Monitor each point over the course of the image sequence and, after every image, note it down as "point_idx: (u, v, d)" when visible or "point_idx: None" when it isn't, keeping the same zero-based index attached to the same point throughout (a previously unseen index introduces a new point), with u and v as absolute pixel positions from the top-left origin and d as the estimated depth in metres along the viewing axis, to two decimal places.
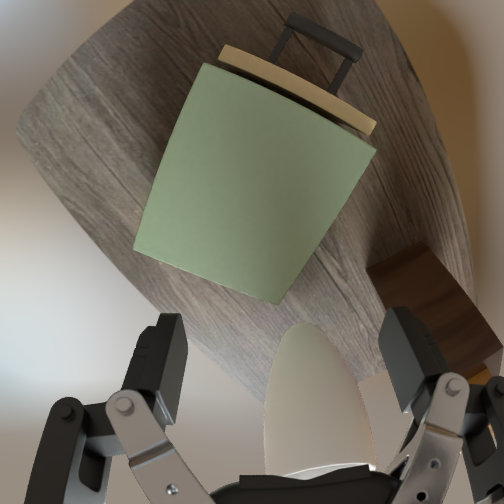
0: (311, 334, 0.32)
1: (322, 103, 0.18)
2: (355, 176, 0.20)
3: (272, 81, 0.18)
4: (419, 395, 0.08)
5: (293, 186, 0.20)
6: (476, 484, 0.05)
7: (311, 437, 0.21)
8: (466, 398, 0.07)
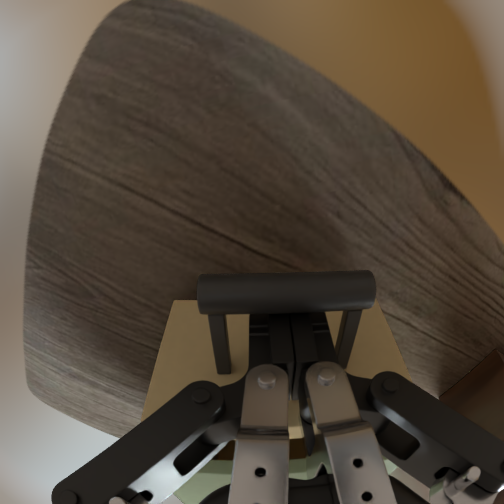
0: None
1: None
2: (388, 471, 0.12)
3: None
4: (300, 382, 0.09)
5: None
6: (416, 473, 0.07)
7: None
8: (339, 390, 0.08)
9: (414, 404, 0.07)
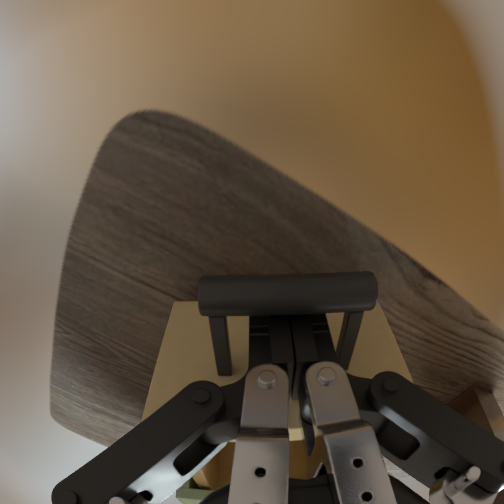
0: None
1: None
2: None
3: None
4: (300, 382, 0.09)
5: None
6: (416, 473, 0.07)
7: None
8: (339, 390, 0.08)
9: (414, 404, 0.07)
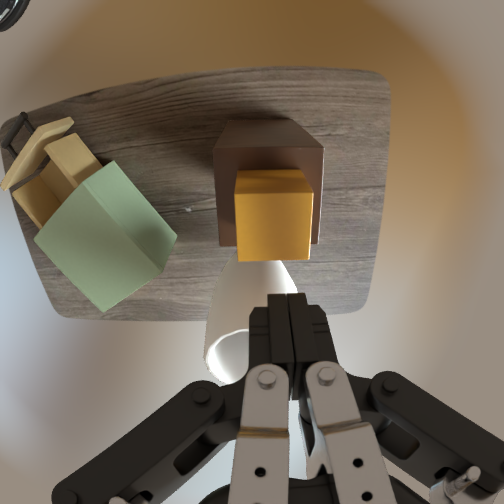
0: None
1: (25, 153, 0.29)
2: (92, 199, 0.32)
3: (14, 173, 0.30)
4: (300, 382, 0.09)
5: (90, 232, 0.34)
6: (416, 472, 0.07)
7: (206, 334, 0.29)
8: (339, 390, 0.08)
9: (414, 404, 0.07)
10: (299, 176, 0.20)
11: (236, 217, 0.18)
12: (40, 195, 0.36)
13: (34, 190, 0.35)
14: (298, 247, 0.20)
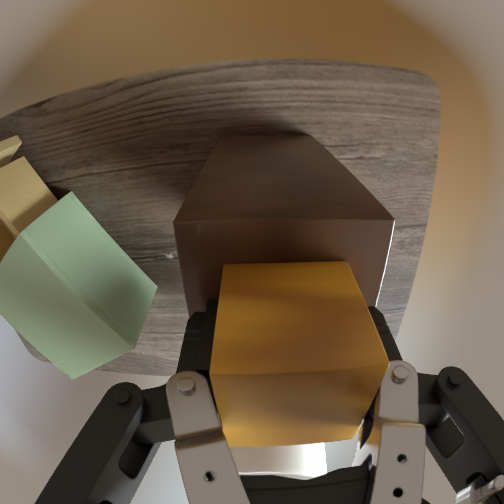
0: None
1: None
2: (35, 256, 0.21)
3: None
4: None
5: (40, 295, 0.23)
6: (451, 474, 0.06)
7: None
8: (413, 387, 0.07)
9: (470, 402, 0.07)
10: (349, 291, 0.10)
11: (218, 405, 0.08)
12: None
13: None
14: (338, 431, 0.09)
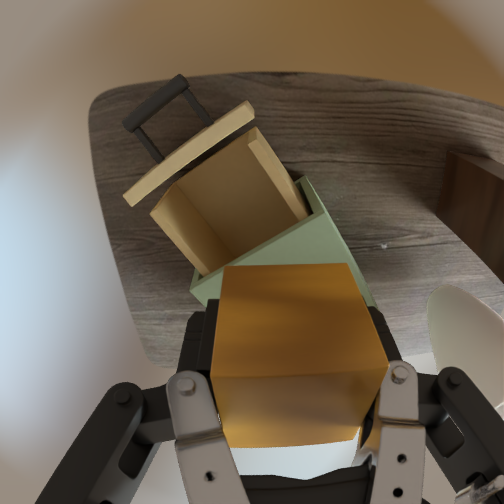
0: (439, 302, 0.31)
1: (203, 147, 0.20)
2: (335, 239, 0.23)
3: (166, 177, 0.22)
4: None
5: None
6: (451, 474, 0.06)
7: None
8: (412, 387, 0.07)
9: (470, 401, 0.07)
10: (349, 292, 0.10)
11: (219, 406, 0.08)
12: (188, 216, 0.28)
13: (179, 208, 0.27)
14: (338, 432, 0.09)
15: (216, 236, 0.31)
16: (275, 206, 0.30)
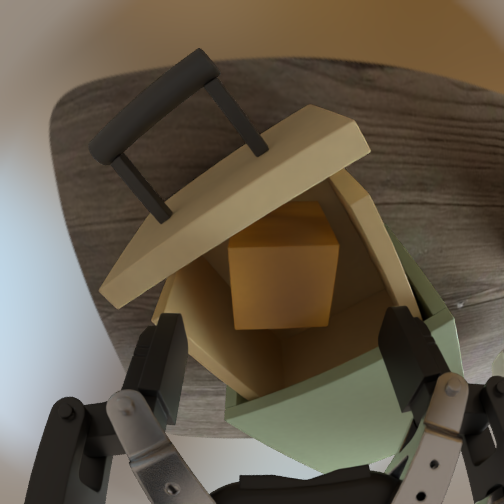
0: None
1: (259, 208, 0.10)
2: (453, 349, 0.12)
3: (180, 266, 0.11)
4: (418, 395, 0.08)
5: None
6: (476, 484, 0.05)
7: None
8: (465, 398, 0.07)
9: None
10: (317, 214, 0.15)
11: (231, 278, 0.13)
12: (215, 301, 0.17)
13: (200, 290, 0.16)
14: (315, 313, 0.14)
15: None
16: (344, 273, 0.19)
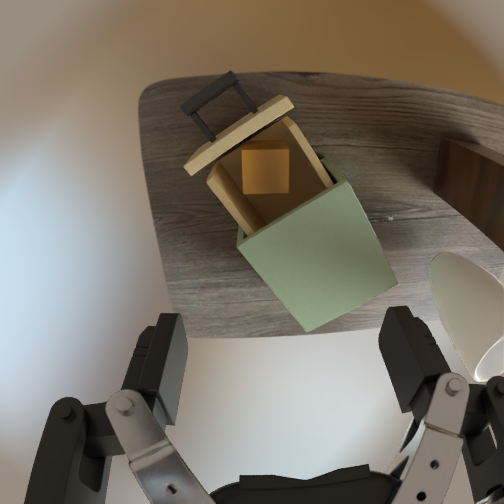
0: (440, 265, 0.37)
1: (254, 128, 0.26)
2: (355, 202, 0.29)
3: (223, 152, 0.27)
4: (419, 395, 0.08)
5: (337, 240, 0.31)
6: (476, 484, 0.05)
7: (472, 338, 0.26)
8: (466, 398, 0.07)
9: None
10: (282, 143, 0.31)
11: (242, 164, 0.29)
12: (232, 188, 0.33)
13: (225, 180, 0.32)
14: (281, 184, 0.30)
15: (252, 206, 0.37)
16: (302, 181, 0.35)
